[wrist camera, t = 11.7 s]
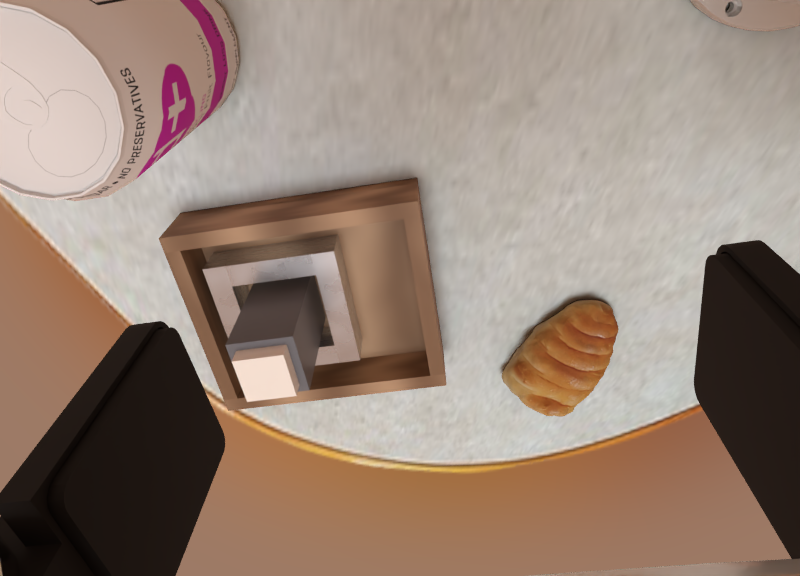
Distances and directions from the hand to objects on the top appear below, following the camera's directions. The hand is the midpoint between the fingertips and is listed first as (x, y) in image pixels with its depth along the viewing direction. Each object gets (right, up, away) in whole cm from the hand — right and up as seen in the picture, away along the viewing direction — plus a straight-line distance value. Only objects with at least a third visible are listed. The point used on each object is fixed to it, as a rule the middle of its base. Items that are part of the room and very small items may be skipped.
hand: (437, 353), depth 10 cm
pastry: (+11, -3, +34) cm, 36 cm away
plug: (-8, +1, +31) cm, 32 cm away
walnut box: (-6, +1, +31) cm, 32 cm away
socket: (-8, +1, +32) cm, 33 cm away
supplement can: (-14, +15, +24) cm, 31 cm away
